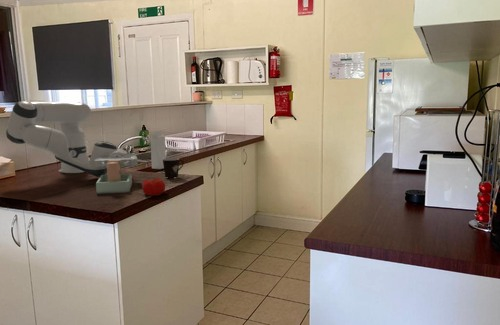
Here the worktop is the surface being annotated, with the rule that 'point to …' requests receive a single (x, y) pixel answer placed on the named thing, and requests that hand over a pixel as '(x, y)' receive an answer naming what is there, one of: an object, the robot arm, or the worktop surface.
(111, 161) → the block
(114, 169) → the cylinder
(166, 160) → the coffee mug
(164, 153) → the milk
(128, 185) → the tote
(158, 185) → the tomato
